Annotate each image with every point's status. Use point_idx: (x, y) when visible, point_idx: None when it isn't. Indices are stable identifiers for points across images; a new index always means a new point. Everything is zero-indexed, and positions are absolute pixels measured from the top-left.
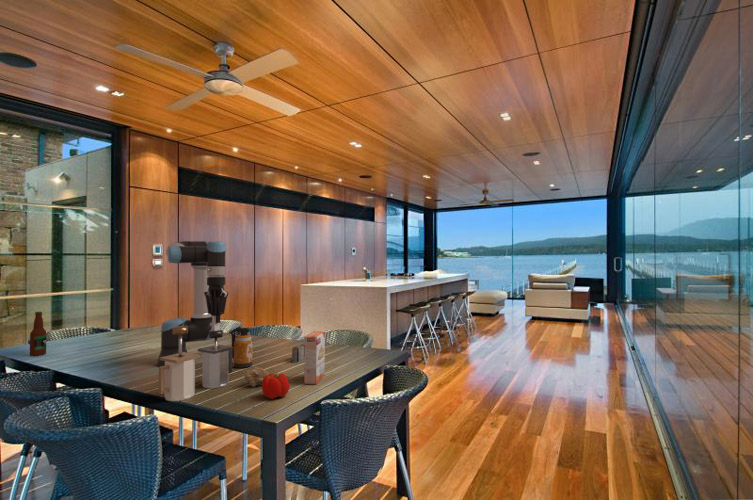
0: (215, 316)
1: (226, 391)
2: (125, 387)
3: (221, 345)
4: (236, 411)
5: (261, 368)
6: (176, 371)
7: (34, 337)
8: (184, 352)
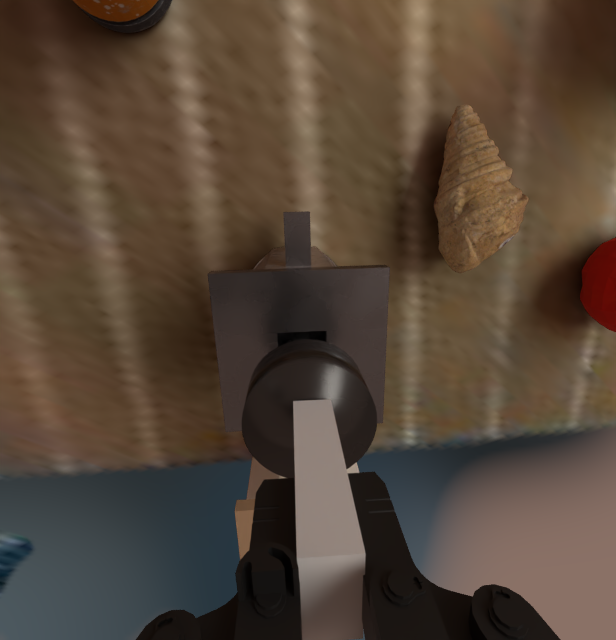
0: (360, 611)
1: (399, 324)
2: (40, 473)
3: (268, 283)
4: (559, 419)
5: (498, 177)
6: None
7: None
8: (247, 513)
